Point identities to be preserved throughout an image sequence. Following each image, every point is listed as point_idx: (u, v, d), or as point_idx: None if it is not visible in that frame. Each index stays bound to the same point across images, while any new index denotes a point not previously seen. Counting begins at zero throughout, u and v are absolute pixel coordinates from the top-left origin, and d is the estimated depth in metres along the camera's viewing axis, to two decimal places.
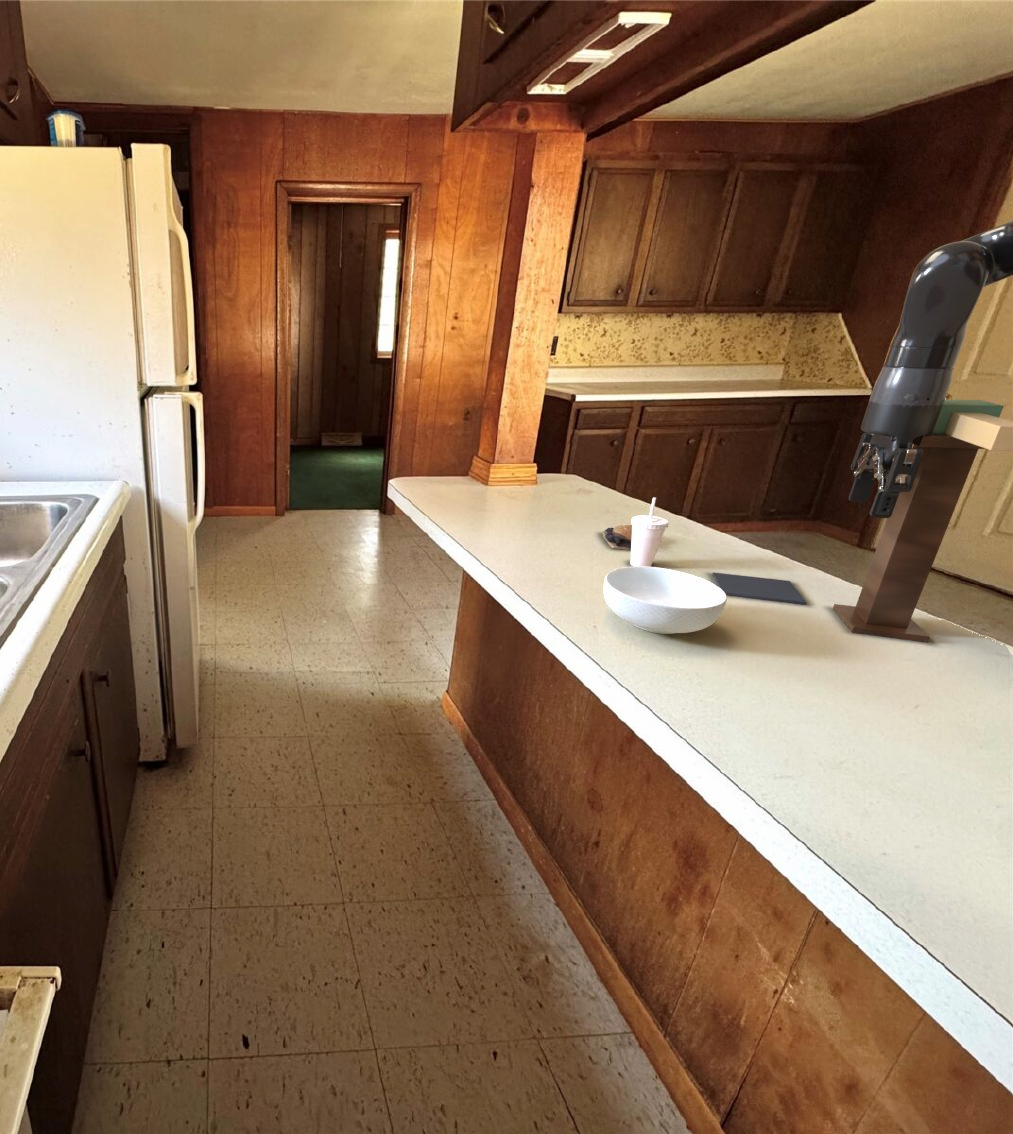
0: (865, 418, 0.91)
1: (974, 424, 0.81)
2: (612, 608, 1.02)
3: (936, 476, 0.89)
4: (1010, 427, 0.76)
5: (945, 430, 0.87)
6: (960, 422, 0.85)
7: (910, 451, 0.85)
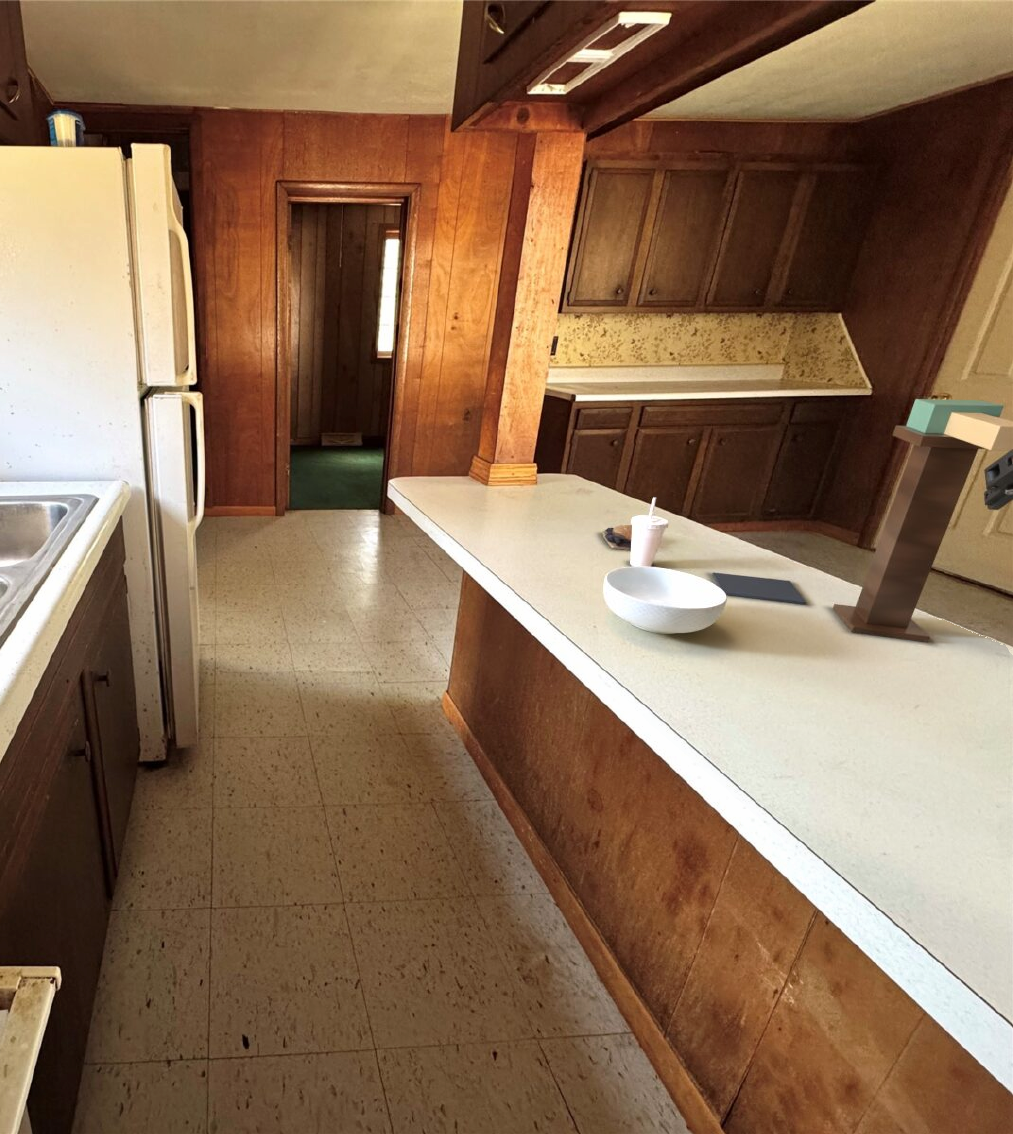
0: None
1: (975, 424, 0.81)
2: (612, 608, 1.02)
3: (936, 476, 0.89)
4: (1010, 427, 0.76)
5: (945, 430, 0.87)
6: (960, 422, 0.85)
7: None
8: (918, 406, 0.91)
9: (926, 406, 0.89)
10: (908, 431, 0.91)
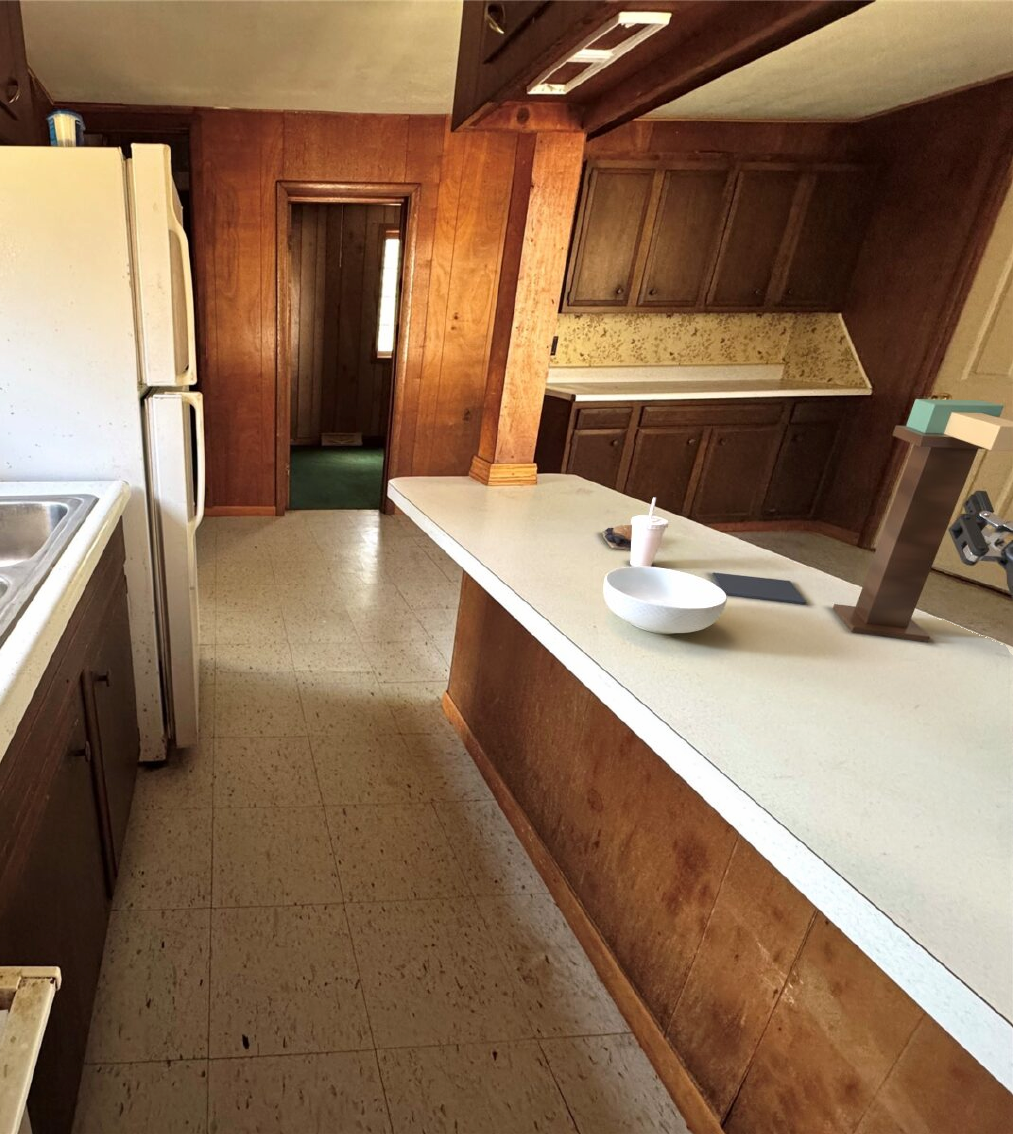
0: None
1: (975, 424, 0.81)
2: (612, 608, 1.02)
3: (936, 476, 0.89)
4: (1010, 427, 0.76)
5: (945, 430, 0.87)
6: (960, 422, 0.85)
7: (971, 555, 0.70)
8: (918, 406, 0.91)
9: (926, 406, 0.89)
10: (908, 431, 0.91)
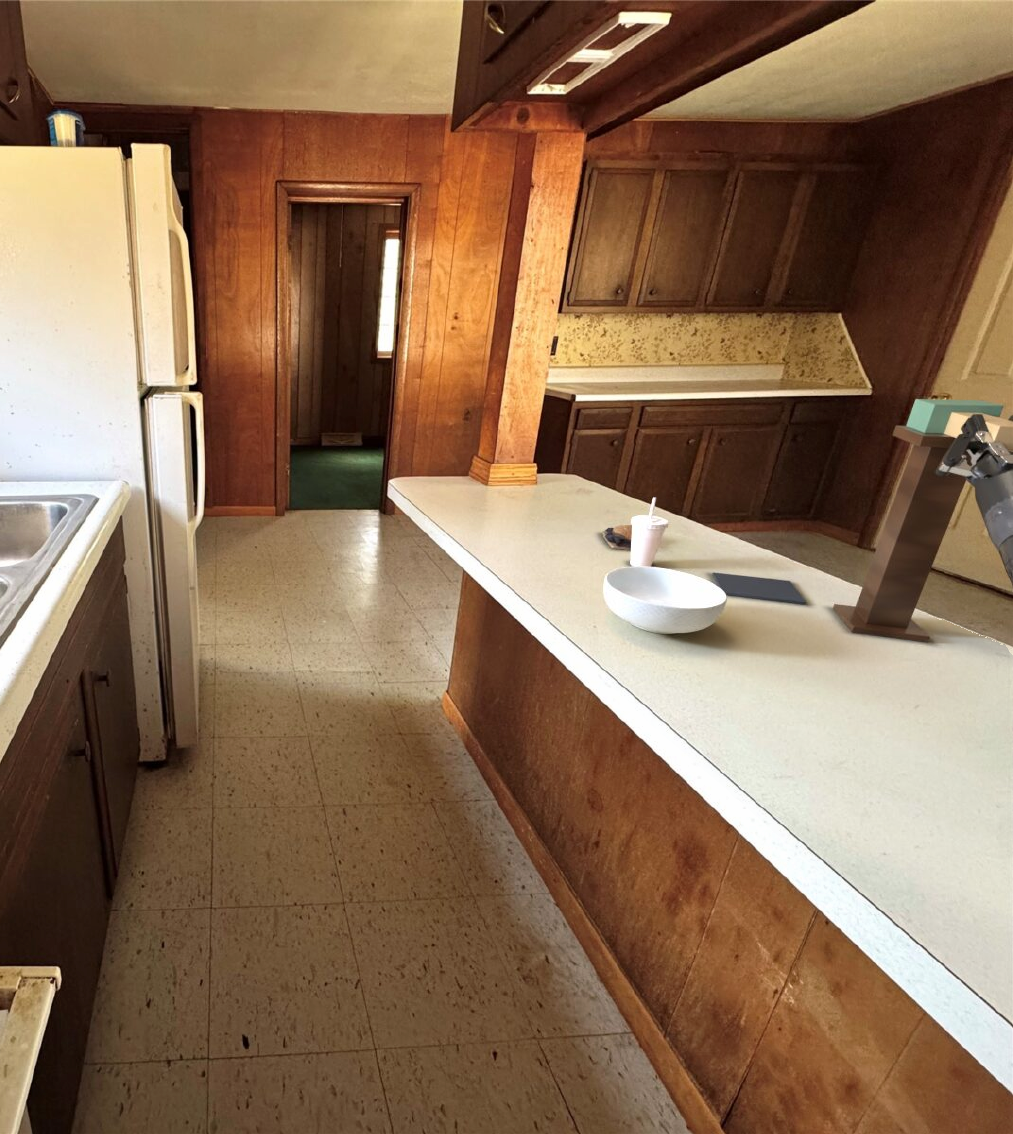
0: None
1: None
2: (612, 608, 1.02)
3: (936, 476, 0.89)
4: (1010, 427, 0.76)
5: (945, 430, 0.88)
6: (960, 422, 0.85)
7: (941, 465, 0.78)
8: (918, 406, 0.91)
9: (926, 406, 0.89)
10: (908, 431, 0.91)
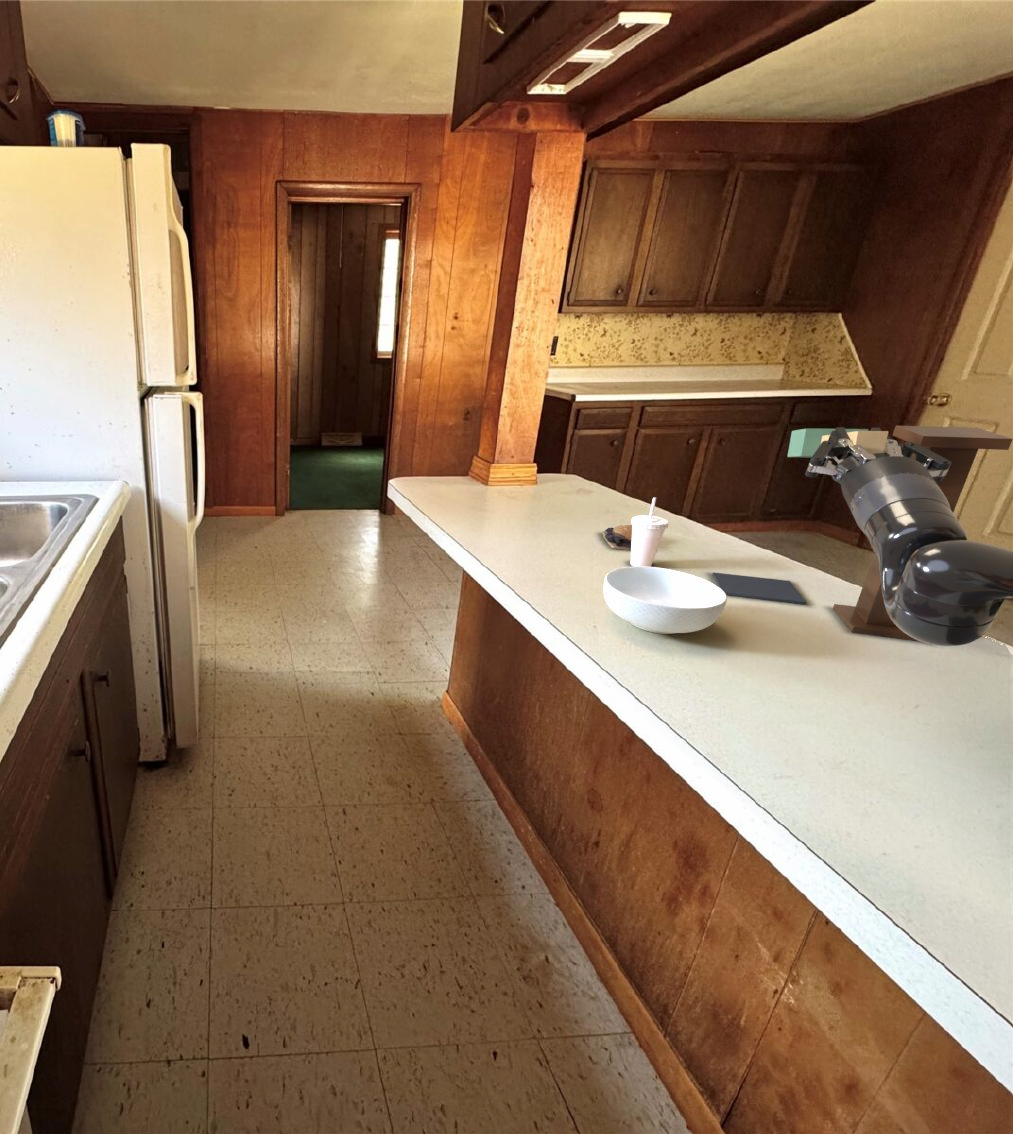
0: (901, 462, 0.72)
1: None
2: (612, 608, 1.02)
3: None
4: (867, 432, 0.79)
5: None
6: None
7: (809, 466, 0.80)
8: (794, 435, 0.95)
9: (800, 433, 0.93)
10: (908, 431, 0.91)
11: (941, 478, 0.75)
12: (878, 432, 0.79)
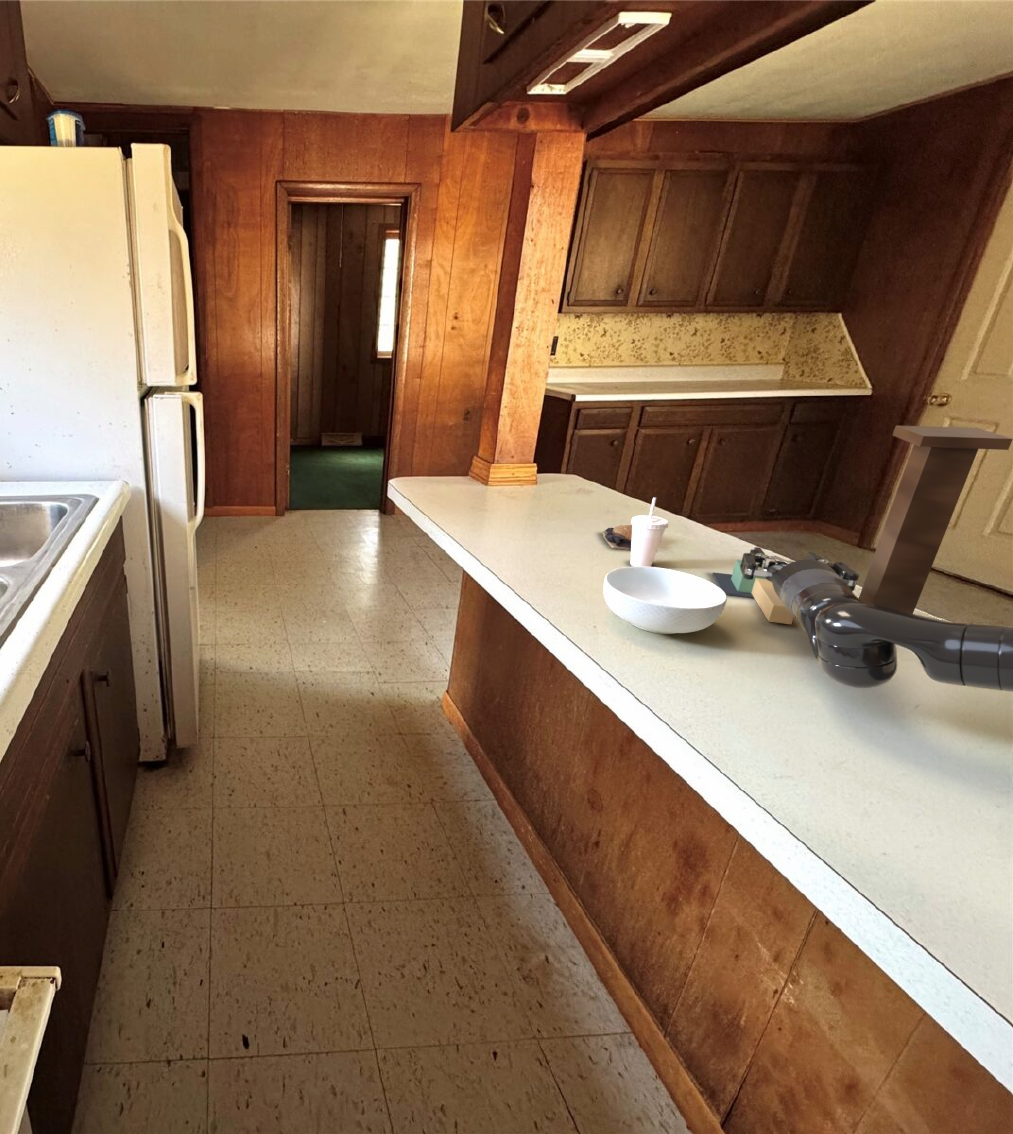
0: (814, 563, 0.92)
1: (764, 595, 1.05)
2: (612, 608, 1.02)
3: (936, 476, 0.89)
4: (780, 606, 1.00)
5: (752, 591, 1.11)
6: (758, 589, 1.09)
7: (746, 570, 0.99)
8: (736, 567, 1.15)
9: (740, 569, 1.13)
10: (908, 431, 0.91)
11: (851, 588, 0.94)
12: None
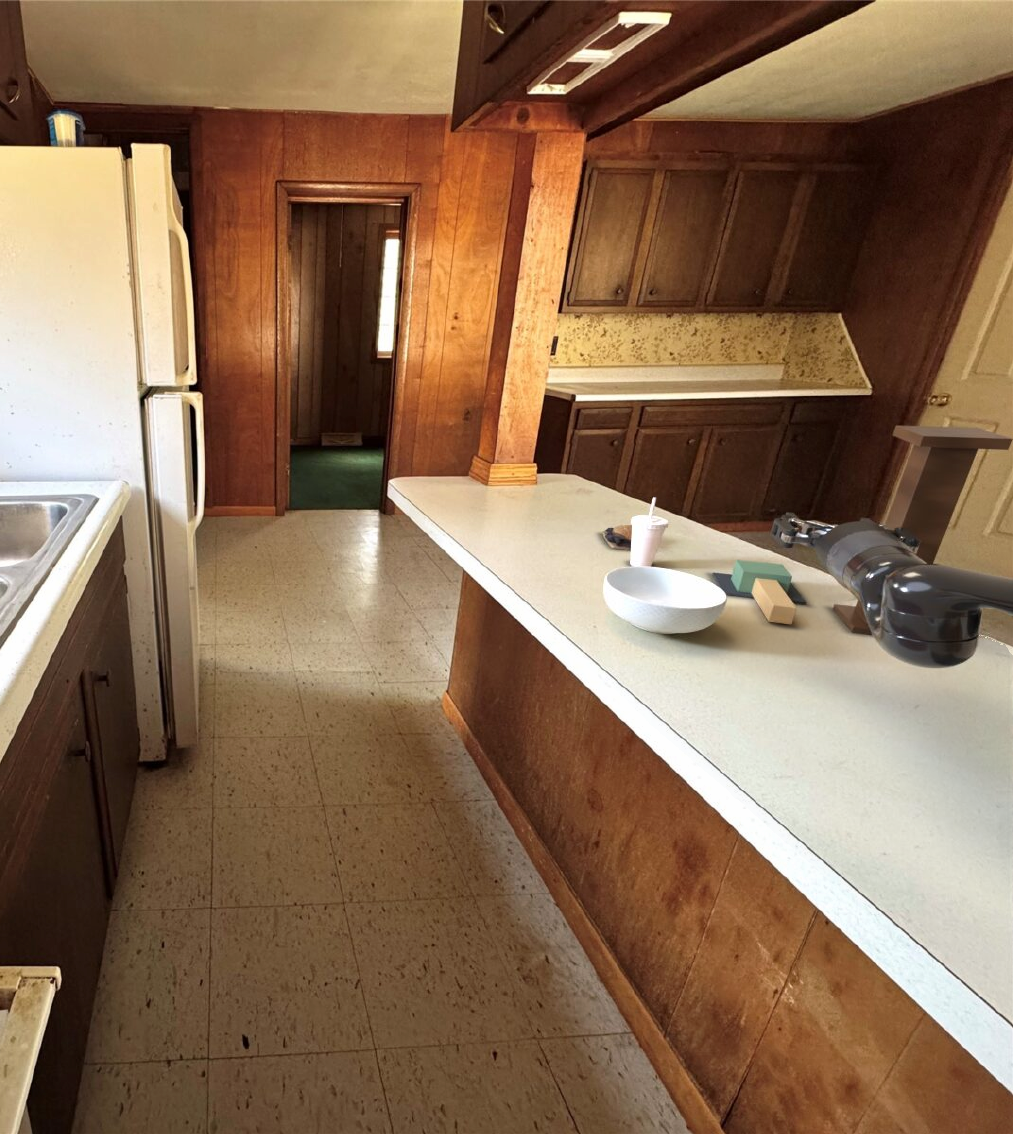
0: (868, 524, 0.78)
1: (764, 595, 1.05)
2: (612, 608, 1.02)
3: (936, 476, 0.89)
4: (780, 606, 1.00)
5: (752, 591, 1.11)
6: (758, 589, 1.09)
7: (786, 537, 0.85)
8: (736, 567, 1.15)
9: (740, 569, 1.13)
10: (908, 431, 0.91)
11: None
12: (789, 607, 1.00)
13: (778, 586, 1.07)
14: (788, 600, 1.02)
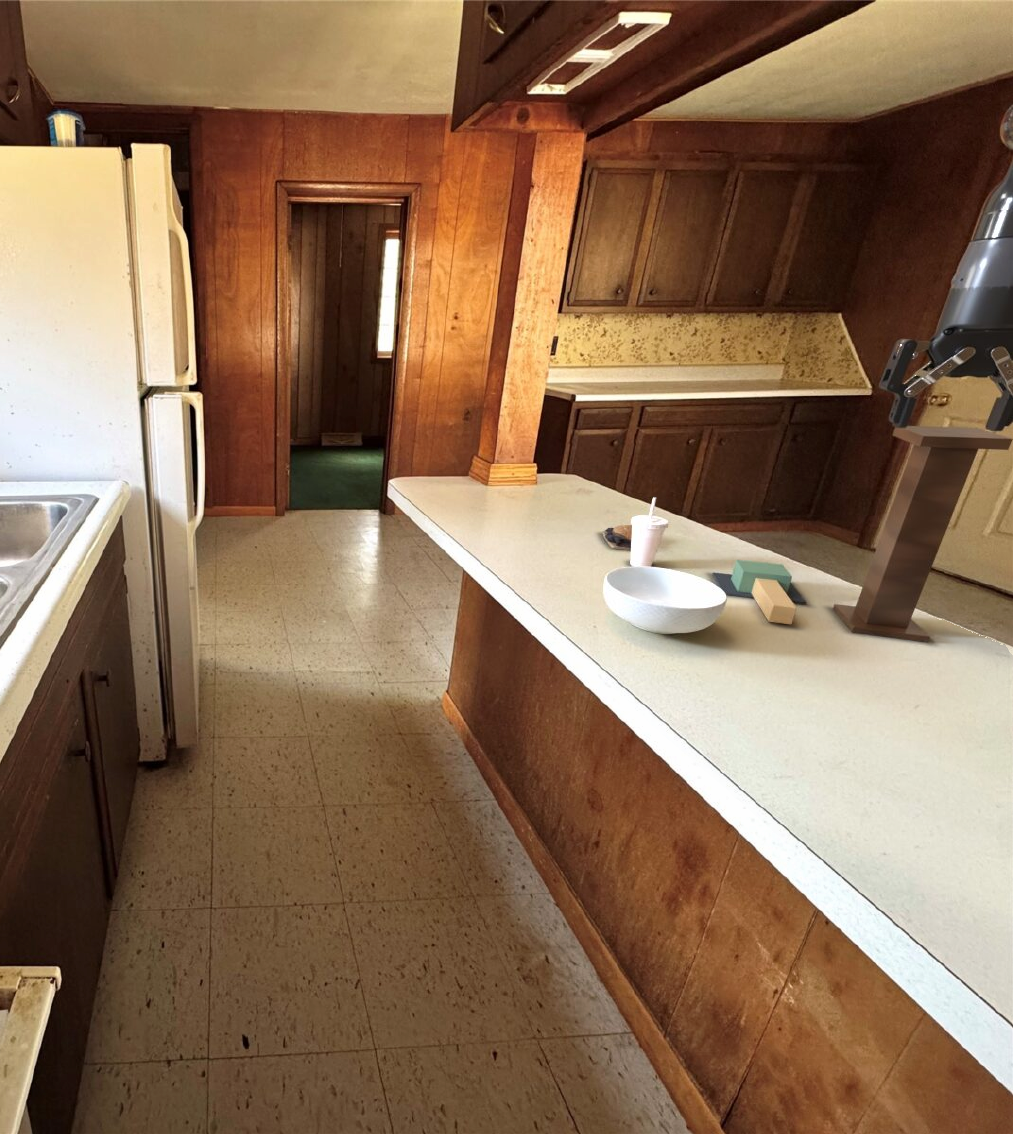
0: None
1: (764, 595, 1.05)
2: (612, 608, 1.02)
3: (936, 476, 0.89)
4: (780, 606, 1.00)
5: (752, 591, 1.11)
6: (758, 589, 1.09)
7: (901, 341, 0.75)
8: (736, 567, 1.15)
9: (740, 569, 1.13)
10: (908, 431, 0.91)
11: None
12: (789, 607, 1.00)
13: (778, 586, 1.07)
14: (788, 600, 1.02)
